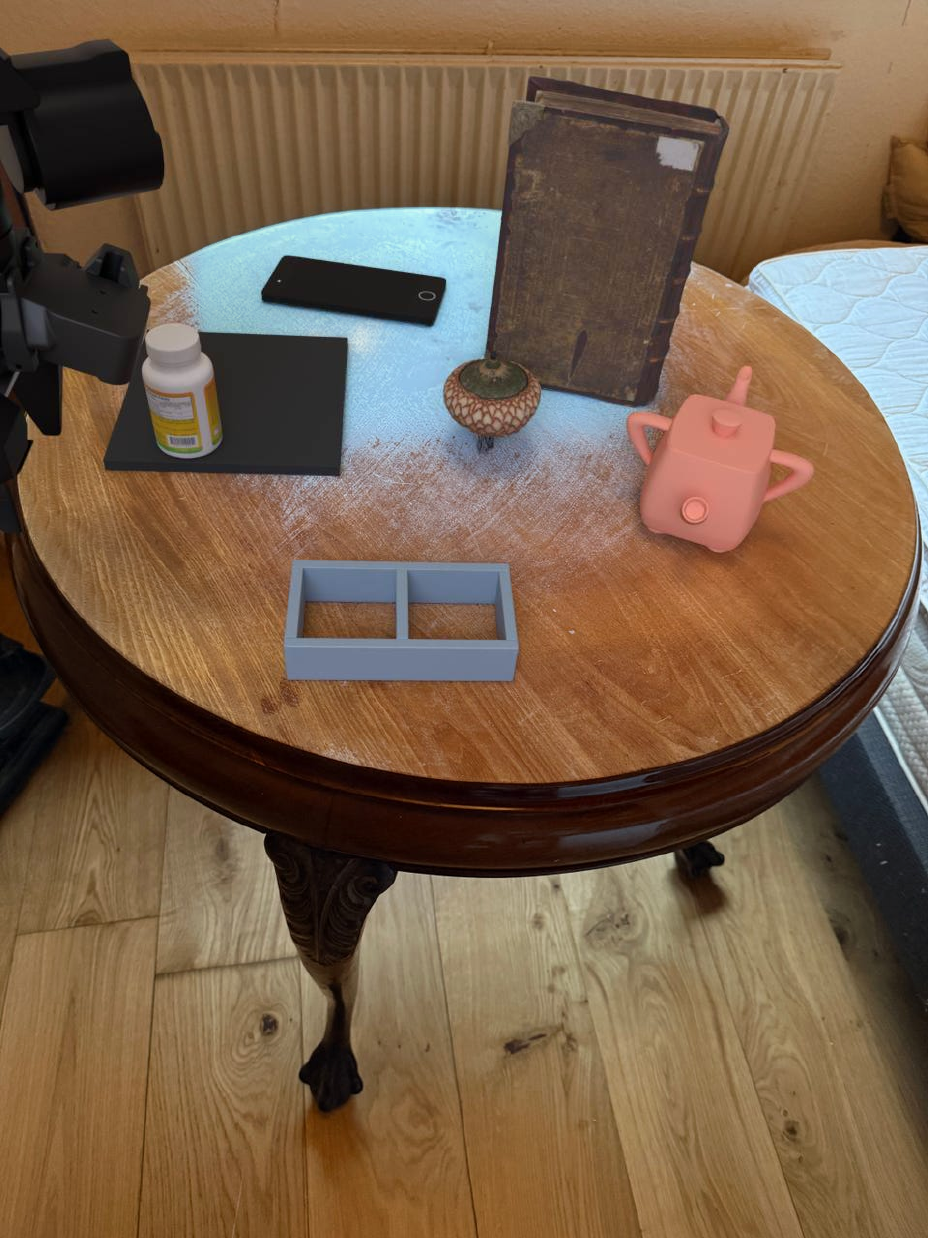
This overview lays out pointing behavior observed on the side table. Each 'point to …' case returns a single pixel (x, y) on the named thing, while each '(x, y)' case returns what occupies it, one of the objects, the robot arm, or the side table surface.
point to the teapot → (712, 468)
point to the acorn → (491, 398)
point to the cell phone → (355, 289)
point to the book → (599, 235)
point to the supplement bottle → (181, 392)
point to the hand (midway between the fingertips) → (34, 480)
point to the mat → (251, 409)
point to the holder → (400, 621)
